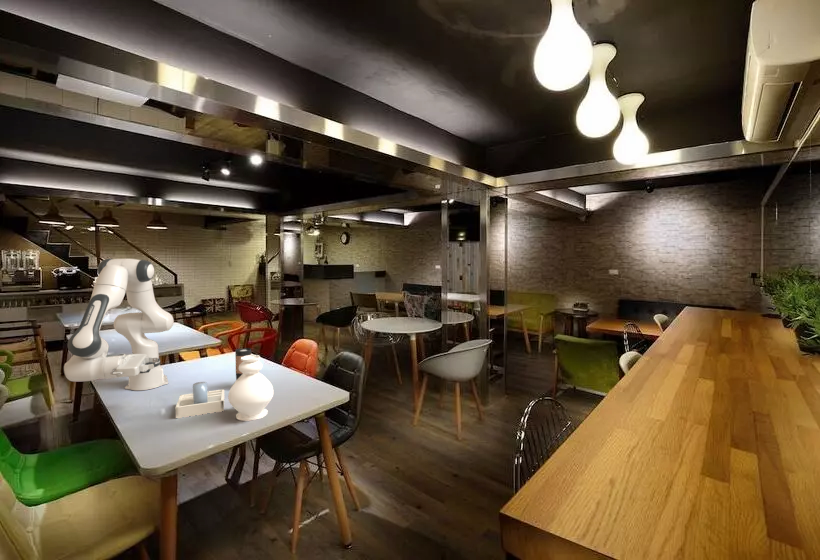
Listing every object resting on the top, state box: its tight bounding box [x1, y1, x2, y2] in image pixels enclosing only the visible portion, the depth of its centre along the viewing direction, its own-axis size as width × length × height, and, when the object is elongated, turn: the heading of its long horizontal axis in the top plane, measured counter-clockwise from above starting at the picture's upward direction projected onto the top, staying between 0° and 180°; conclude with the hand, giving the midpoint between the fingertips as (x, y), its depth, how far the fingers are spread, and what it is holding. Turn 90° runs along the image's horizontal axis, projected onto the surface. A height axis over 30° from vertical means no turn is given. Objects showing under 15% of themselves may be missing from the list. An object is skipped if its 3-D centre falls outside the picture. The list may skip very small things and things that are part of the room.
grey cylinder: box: [192, 381, 208, 404], centre depth 165 cm, size 6×6×11 cm
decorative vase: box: [228, 354, 275, 422], centre depth 161 cm, size 18×18×25 cm
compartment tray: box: [174, 388, 225, 419], centre depth 169 cm, size 16×18×5 cm
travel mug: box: [234, 347, 252, 381], centre depth 195 cm, size 8×8×20 cm
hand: (155, 362), depth 162 cm, fingers open, 8 cm apart
